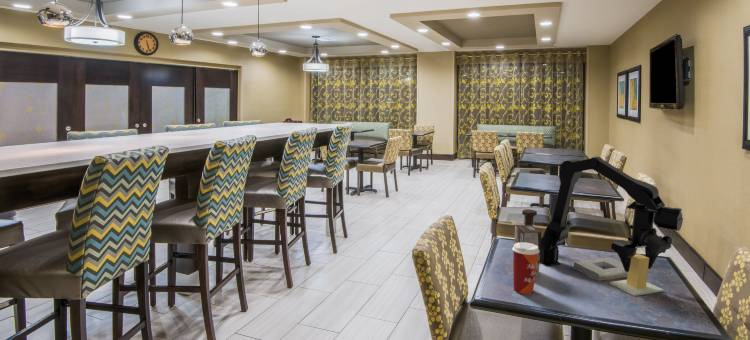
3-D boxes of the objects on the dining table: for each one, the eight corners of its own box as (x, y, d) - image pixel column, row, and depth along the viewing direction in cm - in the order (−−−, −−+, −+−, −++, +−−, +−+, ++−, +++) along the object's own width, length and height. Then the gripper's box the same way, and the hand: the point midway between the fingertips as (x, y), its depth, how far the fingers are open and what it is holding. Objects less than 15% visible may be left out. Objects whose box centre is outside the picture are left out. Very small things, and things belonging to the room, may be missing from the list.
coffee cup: (533, 298, 149) (536, 251, 147) (506, 292, 154) (509, 247, 151) (539, 288, 156) (542, 244, 154) (514, 283, 161) (516, 240, 158)
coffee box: (539, 277, 166) (542, 232, 163) (521, 277, 165) (524, 232, 163) (528, 267, 175) (531, 224, 172) (511, 267, 174) (514, 224, 172)
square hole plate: (598, 281, 163) (598, 274, 163) (573, 268, 174) (573, 261, 174) (635, 275, 168) (635, 268, 168) (608, 263, 179) (609, 257, 179)
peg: (636, 288, 155) (639, 259, 154) (626, 284, 159) (629, 255, 158) (645, 287, 157) (649, 258, 155) (635, 282, 160) (638, 253, 159)
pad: (634, 296, 152) (634, 294, 151) (609, 283, 161) (609, 282, 161) (663, 291, 155) (663, 289, 155) (637, 279, 165) (637, 277, 164)
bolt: (533, 244, 200) (535, 209, 198) (535, 248, 196) (538, 212, 193) (518, 243, 201) (521, 209, 198) (521, 247, 196) (523, 212, 194)
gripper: (641, 233, 144) (635, 283, 147) (687, 228, 150) (681, 276, 152) (612, 223, 154) (607, 269, 157) (657, 219, 160) (651, 263, 163)
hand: (637, 270), depth 157 cm, fingers open, 9 cm apart
